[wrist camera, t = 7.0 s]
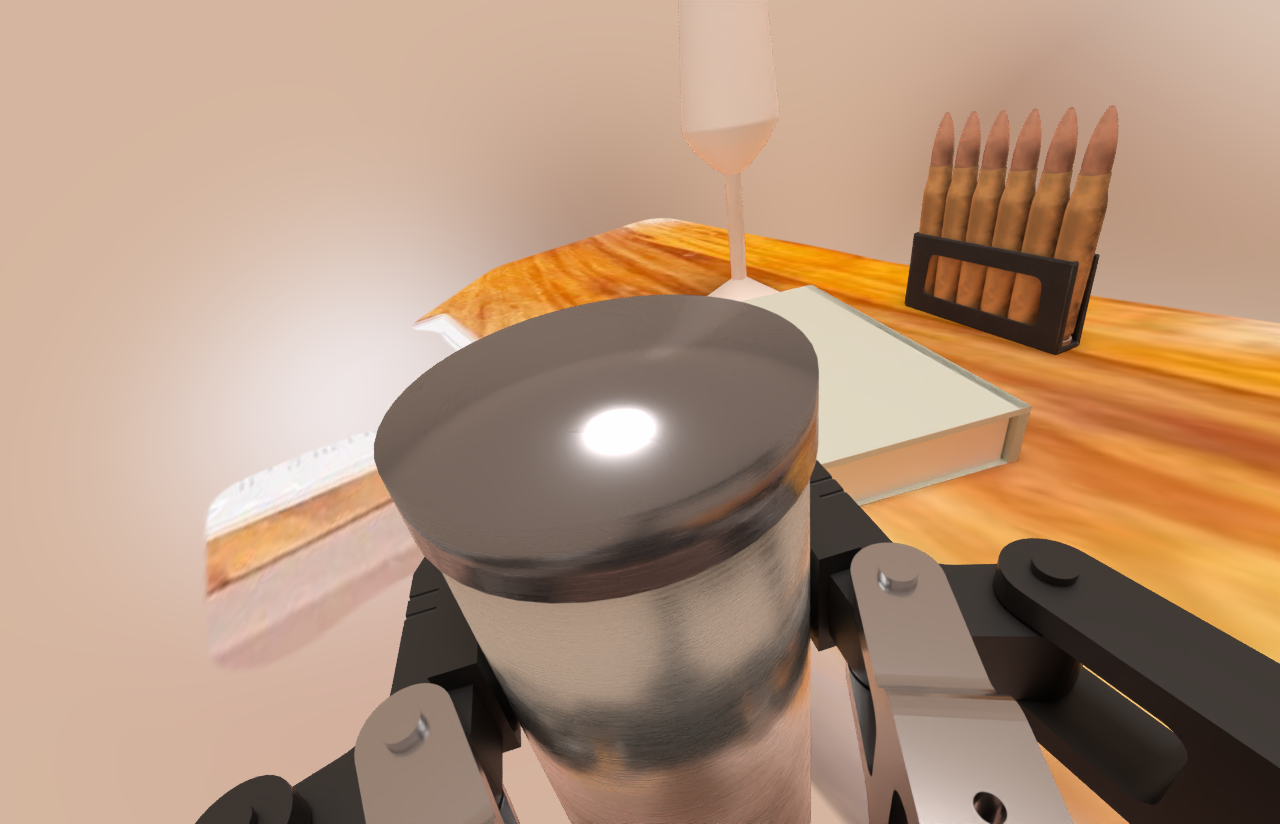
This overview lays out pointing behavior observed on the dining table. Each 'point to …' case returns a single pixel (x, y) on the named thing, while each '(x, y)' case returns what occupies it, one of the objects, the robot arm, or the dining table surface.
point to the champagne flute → (728, 106)
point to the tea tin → (631, 546)
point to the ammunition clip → (1013, 230)
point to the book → (896, 403)
